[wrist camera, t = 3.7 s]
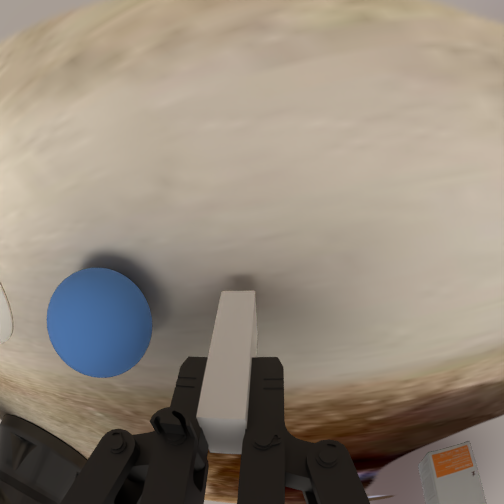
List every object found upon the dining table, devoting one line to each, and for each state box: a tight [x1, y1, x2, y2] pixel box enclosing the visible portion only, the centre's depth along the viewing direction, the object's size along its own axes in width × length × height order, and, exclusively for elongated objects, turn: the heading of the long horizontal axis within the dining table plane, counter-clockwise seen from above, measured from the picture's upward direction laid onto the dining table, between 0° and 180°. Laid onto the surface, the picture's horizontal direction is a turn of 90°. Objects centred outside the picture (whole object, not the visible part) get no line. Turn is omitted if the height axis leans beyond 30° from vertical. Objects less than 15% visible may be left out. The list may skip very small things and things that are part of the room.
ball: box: [47, 268, 152, 378], centre depth 14 cm, size 6×6×6 cm
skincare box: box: [418, 441, 486, 504], centre depth 22 cm, size 6×4×12 cm
